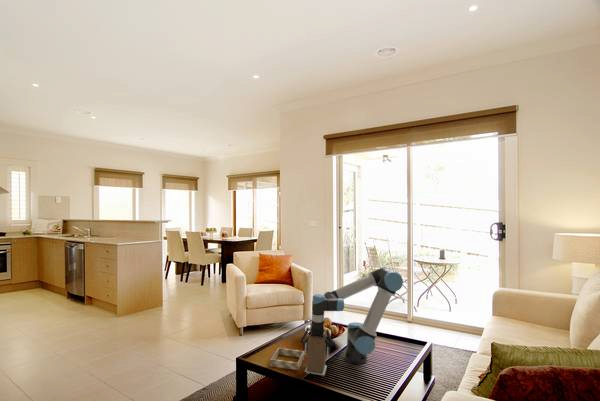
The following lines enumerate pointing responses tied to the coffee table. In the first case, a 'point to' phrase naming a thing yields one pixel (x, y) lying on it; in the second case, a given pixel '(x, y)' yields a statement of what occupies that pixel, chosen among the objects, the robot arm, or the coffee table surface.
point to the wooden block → (316, 353)
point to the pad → (316, 372)
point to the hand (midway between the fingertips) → (316, 355)
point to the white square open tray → (287, 363)
